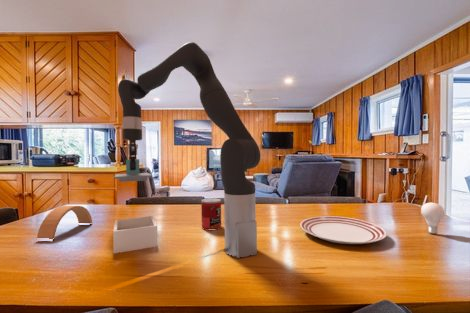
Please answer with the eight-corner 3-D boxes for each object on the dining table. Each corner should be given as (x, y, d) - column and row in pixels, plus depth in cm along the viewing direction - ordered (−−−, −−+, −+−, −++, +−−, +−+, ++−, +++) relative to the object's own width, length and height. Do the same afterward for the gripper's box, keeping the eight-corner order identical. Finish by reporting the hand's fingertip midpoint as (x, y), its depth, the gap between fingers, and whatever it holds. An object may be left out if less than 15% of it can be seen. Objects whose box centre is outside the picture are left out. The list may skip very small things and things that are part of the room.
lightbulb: (449, 237, 78) (449, 204, 78) (427, 236, 80) (427, 204, 80) (437, 231, 85) (436, 201, 85) (417, 230, 86) (417, 200, 86)
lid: (152, 180, 88) (151, 159, 88) (114, 182, 83) (114, 159, 83) (148, 177, 101) (148, 159, 101) (116, 179, 96) (115, 159, 96)
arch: (36, 242, 79) (35, 212, 79) (79, 224, 99) (79, 201, 99) (52, 242, 79) (51, 212, 79) (92, 225, 99) (92, 201, 99)
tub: (157, 248, 72) (157, 225, 72) (113, 256, 67) (113, 231, 67) (152, 235, 84) (152, 215, 84) (115, 240, 79) (115, 219, 79)
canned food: (212, 231, 87) (211, 202, 87) (197, 228, 92) (197, 200, 92) (225, 226, 93) (225, 199, 93) (210, 223, 98) (210, 197, 98)
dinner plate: (403, 254, 66) (403, 242, 66) (303, 247, 72) (303, 236, 72) (368, 225, 93) (368, 217, 93) (298, 222, 99) (297, 214, 99)
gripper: (143, 127, 93) (143, 170, 93) (141, 130, 106) (141, 169, 106) (122, 126, 90) (122, 171, 90) (122, 130, 102) (123, 169, 102)
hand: (132, 169), depth 98 cm, fingers closed on lid, 1 cm apart
